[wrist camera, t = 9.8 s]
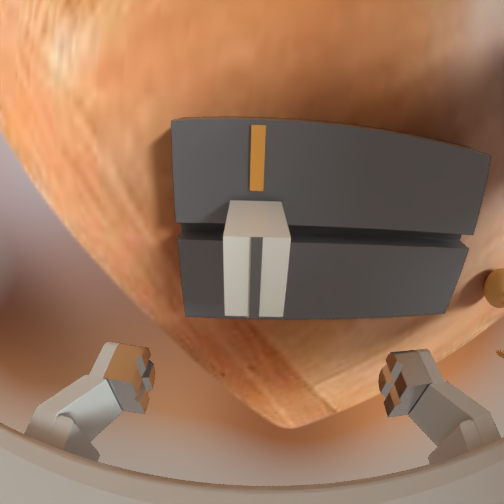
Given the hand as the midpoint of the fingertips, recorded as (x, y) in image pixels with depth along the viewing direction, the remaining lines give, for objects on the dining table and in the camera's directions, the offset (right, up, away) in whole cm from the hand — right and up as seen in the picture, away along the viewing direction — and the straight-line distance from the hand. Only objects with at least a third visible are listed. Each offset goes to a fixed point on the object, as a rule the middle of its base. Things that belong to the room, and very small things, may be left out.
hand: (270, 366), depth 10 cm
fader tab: (0, +6, +11) cm, 12 cm away
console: (+6, +6, +13) cm, 15 cm away
